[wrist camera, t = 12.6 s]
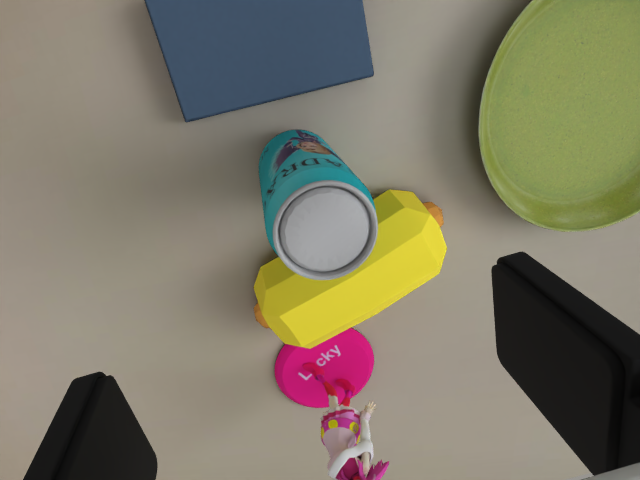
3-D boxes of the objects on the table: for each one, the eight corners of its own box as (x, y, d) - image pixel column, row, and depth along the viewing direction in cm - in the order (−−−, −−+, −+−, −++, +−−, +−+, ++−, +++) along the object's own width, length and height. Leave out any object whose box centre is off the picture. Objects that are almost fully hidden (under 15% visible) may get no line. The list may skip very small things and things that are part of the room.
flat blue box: (146, -1, 30) (140, -4, 28) (350, -48, 30) (357, -54, 29) (187, 120, 33) (184, 124, 31) (370, 75, 34) (377, 76, 32)
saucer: (723, -59, 34) (768, -70, 31) (669, 199, 42) (701, 211, 39) (462, -29, 32) (484, -37, 29) (460, 236, 40) (477, 251, 37)
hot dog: (230, 276, 38) (278, 338, 41) (228, 319, 32) (284, 387, 35) (414, 165, 37) (450, 237, 40) (448, 187, 31) (487, 270, 34)
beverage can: (329, 123, 34) (384, 169, 21) (332, 194, 37) (384, 279, 23) (254, 129, 34) (260, 181, 20) (261, 201, 36) (272, 292, 22)
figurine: (328, 304, 41) (370, 431, 27) (393, 361, 44) (459, 499, 31) (253, 371, 42) (257, 523, 29) (322, 421, 46) (355, 577, 32)
